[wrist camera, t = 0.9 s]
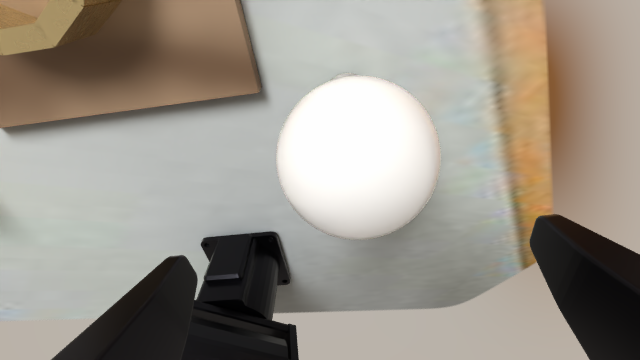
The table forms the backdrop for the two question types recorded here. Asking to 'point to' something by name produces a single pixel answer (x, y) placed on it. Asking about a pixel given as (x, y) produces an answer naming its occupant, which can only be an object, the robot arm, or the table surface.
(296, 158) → the lightbulb
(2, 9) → the socket collar
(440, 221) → the table surface
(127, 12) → the socket base
